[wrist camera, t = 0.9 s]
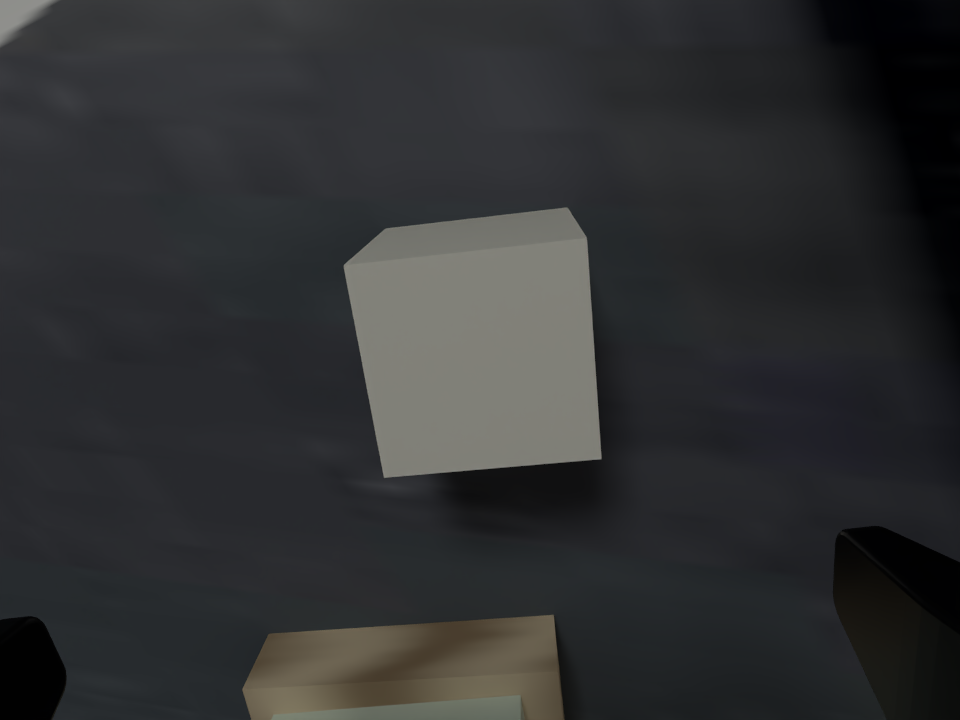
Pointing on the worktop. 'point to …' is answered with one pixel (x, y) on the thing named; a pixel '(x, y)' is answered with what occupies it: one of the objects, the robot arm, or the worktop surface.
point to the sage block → (424, 711)
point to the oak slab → (409, 667)
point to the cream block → (478, 343)
